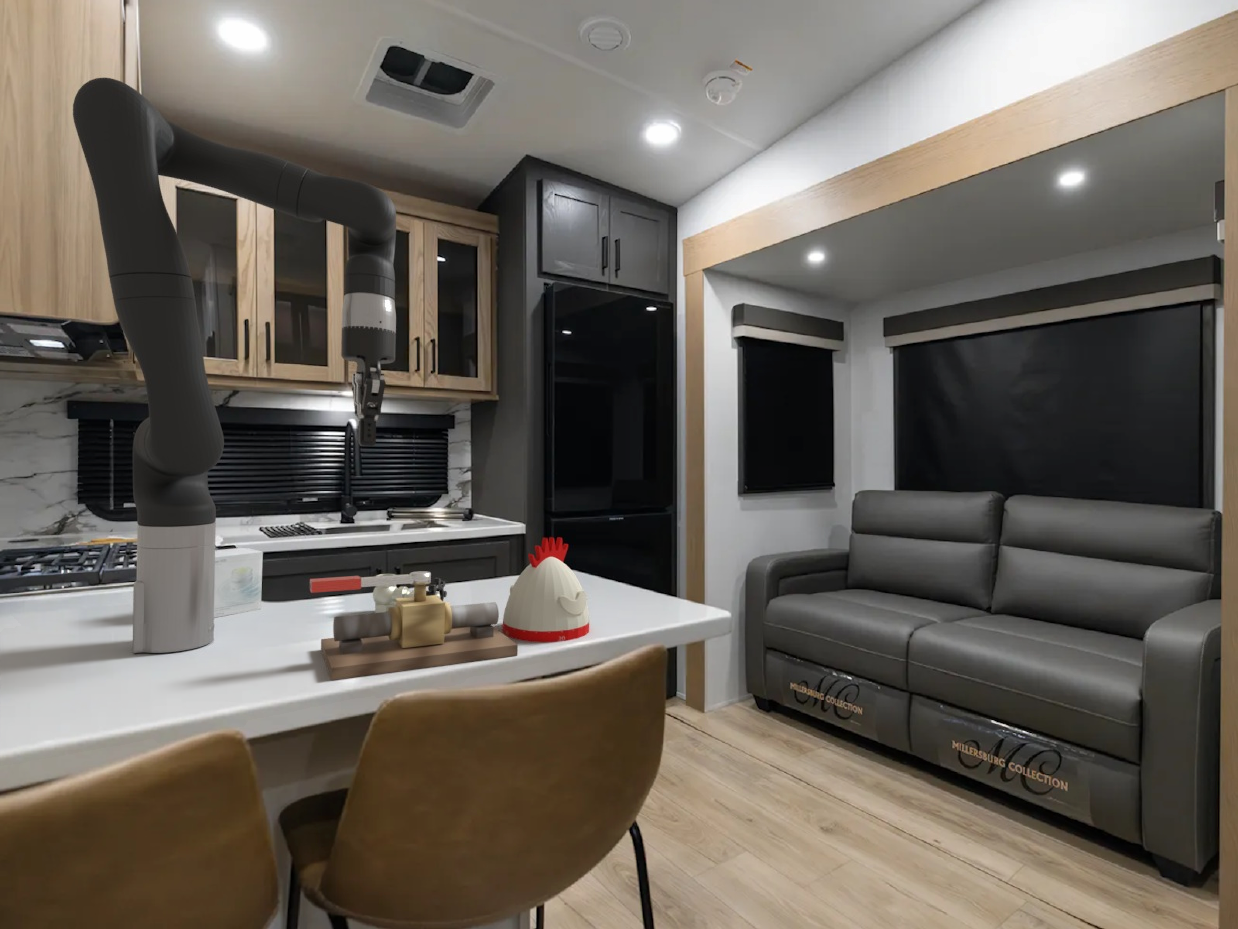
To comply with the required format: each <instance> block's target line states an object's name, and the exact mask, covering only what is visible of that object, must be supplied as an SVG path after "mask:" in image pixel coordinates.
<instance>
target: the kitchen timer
mask: <svg viewBox="0 0 1238 929" xmlns="http://www.w3.org/2000/svg"><path fill="white" fill-rule="evenodd" d="M541 540H542V541H541V546H540V545H535V546H534V549H535V555H534V554H532V553H528V560H529V565H528V566H526V567H525V568H524V570H522V572H521V573H520V574H519V576H518V578H517V579H515V580H516V581H515V582H514V584H512V585H510V588H509V596H508V599H507V601H506V606H505V608H504V612H503V618H502V633H503V634H504V635H505V636H507V637H508V638H511V639H514V640H519V641H524V642H525V641H526V642H533V643H534V642H535V643H538V642H539V643H556V642H564V641H565V642H566V641H571V640H577V639H580V638H582V637H584V636H587V635H588V633H590V613H589V607H588V603H587V600H588V598H587V596H588V595H587V593H586V591H585V590H584V589H583V587H582V585H581V582H580V581H579V579H578V578H577V575H576V574H575V573H574V571H573V570H572V569H571V568H570V567H569V566H568V565H567V564H566V563H564V561H565V558H566V555H567V551H568V549H569V544H568V543H563V538H562V537H559V536H558V537H557V538H556V541H555V538H554V537H552V536H549V538H548V537H542V539H541Z"/></svg>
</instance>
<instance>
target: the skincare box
mask: <svg viewBox="0 0 1238 929" xmlns="http://www.w3.org/2000/svg"><path fill="white" fill-rule="evenodd" d="M263 555H264V551H261V550H257V549H253V548H248V547H237V548H227V549H225V548H224V549H215V592H214V619H215V618H220V617H221V618H222V617H226V616H232V615H233V616H234V615H237V614H243V613H248V612H254V611H258V610H262V585H263V584H262V582H263V557H264V556H263Z"/></svg>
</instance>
